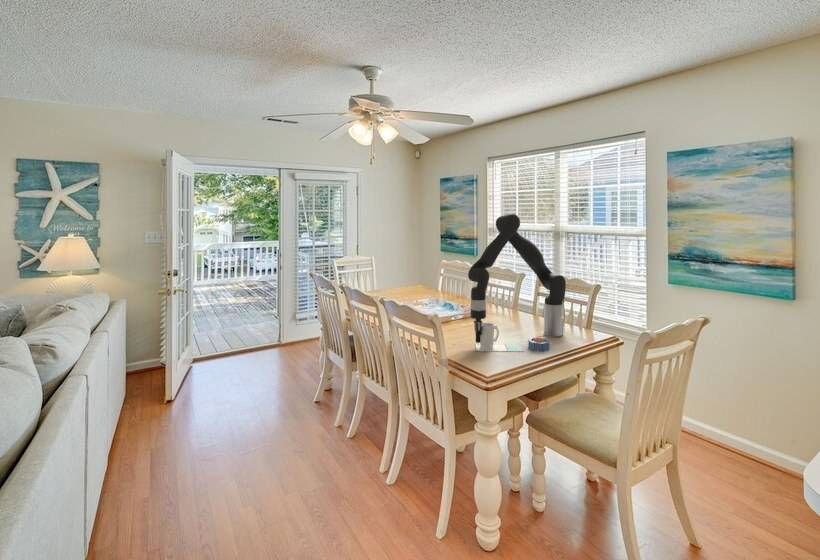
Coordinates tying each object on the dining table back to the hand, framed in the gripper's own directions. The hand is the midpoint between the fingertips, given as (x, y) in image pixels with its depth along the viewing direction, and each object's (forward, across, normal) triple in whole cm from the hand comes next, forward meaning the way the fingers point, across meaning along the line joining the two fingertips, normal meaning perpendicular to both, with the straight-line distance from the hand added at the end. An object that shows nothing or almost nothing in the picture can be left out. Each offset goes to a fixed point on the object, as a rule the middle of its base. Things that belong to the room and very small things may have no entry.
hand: (478, 342), depth 210 cm
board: (+3, 0, +10) cm, 11 cm away
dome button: (+2, 0, +30) cm, 30 cm away
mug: (+3, 0, +6) cm, 6 cm away
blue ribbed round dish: (+3, 0, +30) cm, 30 cm away
